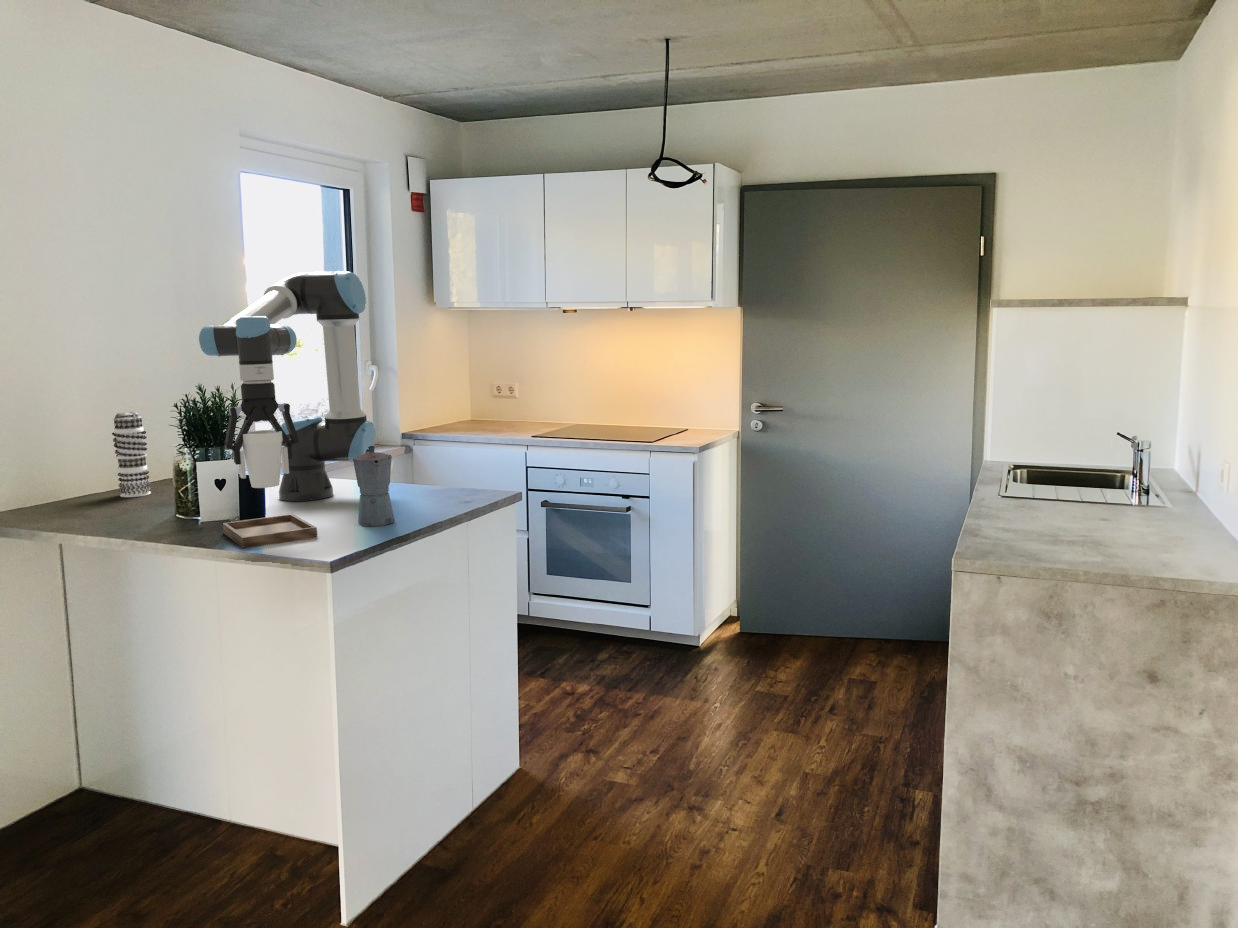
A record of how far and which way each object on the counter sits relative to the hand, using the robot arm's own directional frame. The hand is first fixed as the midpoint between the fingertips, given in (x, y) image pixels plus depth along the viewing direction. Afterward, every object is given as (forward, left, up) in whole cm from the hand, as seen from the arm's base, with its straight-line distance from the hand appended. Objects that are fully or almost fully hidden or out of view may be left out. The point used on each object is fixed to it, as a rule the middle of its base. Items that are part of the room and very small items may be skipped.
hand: (264, 475), depth 230 cm
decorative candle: (+17, -84, -15) cm, 87 cm away
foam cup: (0, 0, -3) cm, 3 cm away
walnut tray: (0, 0, -15) cm, 15 cm away
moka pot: (-26, +3, -15) cm, 30 cm away
